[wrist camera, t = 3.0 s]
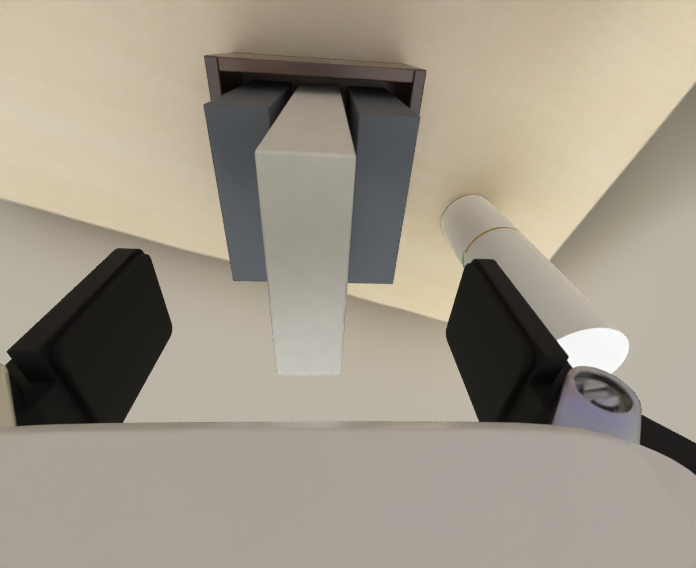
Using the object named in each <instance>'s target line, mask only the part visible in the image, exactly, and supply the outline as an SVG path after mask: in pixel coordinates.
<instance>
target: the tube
mask: <svg viewBox="0 0 696 568" xmlns="http://www.w3.org/2000/svg"><path fill="white" fill-rule="evenodd" d="M441 230H442V232H443V235H444V236H445V238H446V240H447V241H448V243H449V245H450V246H451V248H452V250H453V251H454V253H455V255H456V256H457V258H458V260H459V261H460V263H461V265H462V266H463V268H465V265H466V264H467V263H471V262H472V260H473V259H494V260H495V261H496V262H497V264H498V265H499V266H500V267H501V269H502V270H503V271H504V273H505V274H506V275H507V277H508V278H509V279H510V280H511V282H512V283H513V284H514V286H515V287H516V288H517V290H518V291H519V292H520V293H521V295H522V296H523V297H524V299H525V300H526V301H527V303H528V304H529V305H530V306H531V308H532V309H533V310H534V312H535V313H536V314H537V316H538V317H539V318H540V319H541V321H542V322H543V323H544V325H545V326H546V327H547V329H548V330H549V331H550V333H551V334H552V335H553V336H554V338H555V339H556V340H557V342H558V343H559V344H560V346H561V347H562V348H563V349H564V351H565V352H566V353H567V355H568V356H569V358H568V360H567V361H568V362H569V364H570V365H571V366H572V368H574V367H576V366H589V367H595V368H598V369H601V370H603V371H606V372H608V373H610V374H611V373H613V372H614V371H615V370H616V369H617V368H618V367H619V366H620V365H621V364H622V363H623V361H624V359H625V358H626V356H627V354H628V351H629V342H628V340H627V338H626V337H625V336H624V335H623V334H622V333H621V332H620V331H619V330H618V329H617V328H616V327H615V326H614V325H613V324H612V323H611V322H610V321H609V320H608V319H607V318H606V317H605V316H604V315H603V314H602V313H601V312H600V311H599V310H598V309H597V308H596V307H595V306H594V305H593V304H592V303H591V302H590V301H589V300H588V299H587V298H586V297H585V296H584V295H583V294H582V293H581V292H580V291H579V290H578V289H577V288H576V287H575V286H574V285H573V284H572V283H571V282H570V281H569V280H568V279H567V278H566V277H565V276H564V275H563V274H562V273H561V272H560V271H559V270H558V269H557V268H556V267H555V266H554V265H553V264H552V263H551V262H550V261H549V260H548V259H547V258H546V257H545V256H544V255H543V254H542V253H541V252H540V251H539V250H538V249H537V248H536V247H535V246H534V245H533V244H532V243H531V242H530V241H529V240H528V239H527V238H526V237H525V236H524V235H523V234H522V233H521V232H520V231H519V230H518V229H517V228H516V227H515V226H514V225H513V224H512V223H511V222H510V221H509V220H508V219H507V218H506V217H505V216H504V215H503V214H502V213H501V212H500V211H499V210H498V209H497V208H496V207H495V206H493V205H492V204H491V203H490V202H489V201H488V200H487V199H486V198H484V197H482V196H479V195H467V196H464V197H461V198H459V199H457V200H456V201H454V202H453V203H452V204H450V205H449V206H448V208H447V209H446V210H445V212H444V214H443V216H442V219H441Z"/></svg>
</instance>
